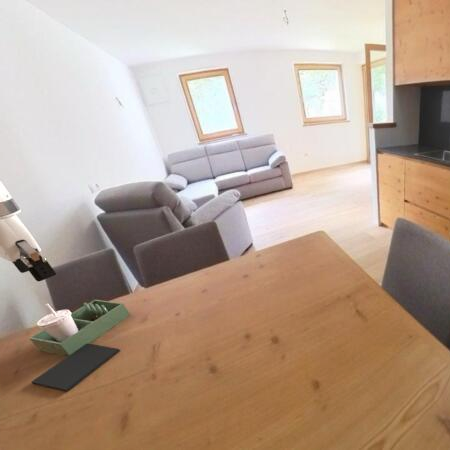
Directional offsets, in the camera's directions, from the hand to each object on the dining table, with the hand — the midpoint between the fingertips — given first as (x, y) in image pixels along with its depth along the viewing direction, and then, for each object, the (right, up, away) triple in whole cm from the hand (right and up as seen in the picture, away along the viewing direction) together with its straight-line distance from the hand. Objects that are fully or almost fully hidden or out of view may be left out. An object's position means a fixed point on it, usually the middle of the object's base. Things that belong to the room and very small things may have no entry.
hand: (38, 273), depth 69 cm
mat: (+4, -26, +5) cm, 27 cm away
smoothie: (-7, -23, +13) cm, 27 cm away
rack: (-6, -21, +16) cm, 27 cm away
